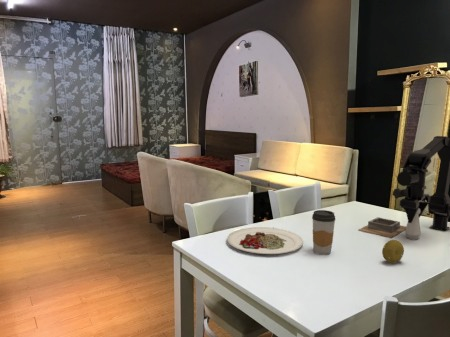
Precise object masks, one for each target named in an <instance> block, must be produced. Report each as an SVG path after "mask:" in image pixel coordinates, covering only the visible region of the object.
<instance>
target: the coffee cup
mask: <svg viewBox="0 0 450 337" xmlns="http://www.w3.org/2000/svg"><path fill="white" fill-rule="evenodd" d="M311 219H312V243H313V244H312V245H313V248H312V249H313V251H314V253H316V254H318V255H322V256H323V255H324V256H326V255H330V254H331V252H332V247H333V241H334V232H335V230H334V229H335V221H336V216H335V212H333V211H330V210H327V209H326V210H325V209H318V210H314V211H313V214H312V217H311Z"/></svg>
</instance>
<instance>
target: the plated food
mask: <svg viewBox="0 0 450 337" xmlns="http://www.w3.org/2000/svg"><path fill="white" fill-rule="evenodd" d="M226 241H227V243H228V244H229V245H230V246H232V247H233V248H235V249H237V250H239V251H244V252H246V253H250V254H251V253H253V254H259V255H260V254H261V255H278V254H286V253H291V252H294V251H297V250H299V249H300V248H301V247H303V244H304V240H303V238H302V237H301V235H299V234H297V233H295V232H292V231H290V230H287V229H283V228H276V227H275V228H274V227H265V226H264V227H260V226H258V227H257V226H256V227H254V226H253V227H246V228H241V229H236V230H235V231H232V232H230V233H229V234H228V236H227V238H226Z"/></svg>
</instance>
